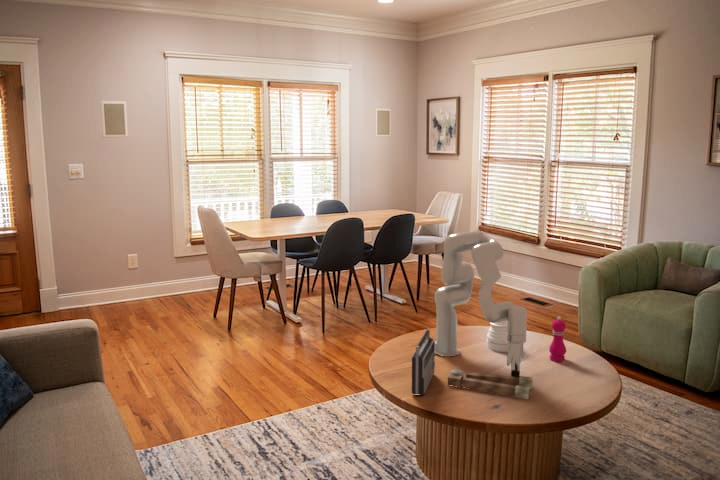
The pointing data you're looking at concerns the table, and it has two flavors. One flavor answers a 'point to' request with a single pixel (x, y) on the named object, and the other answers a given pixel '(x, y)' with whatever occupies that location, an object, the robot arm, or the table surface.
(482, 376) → the tongs arm
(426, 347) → the radio
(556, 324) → the pepper mill
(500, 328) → the honey pot
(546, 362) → the table surface
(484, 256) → the robot arm
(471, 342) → the table surface
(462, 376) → the tongs base
